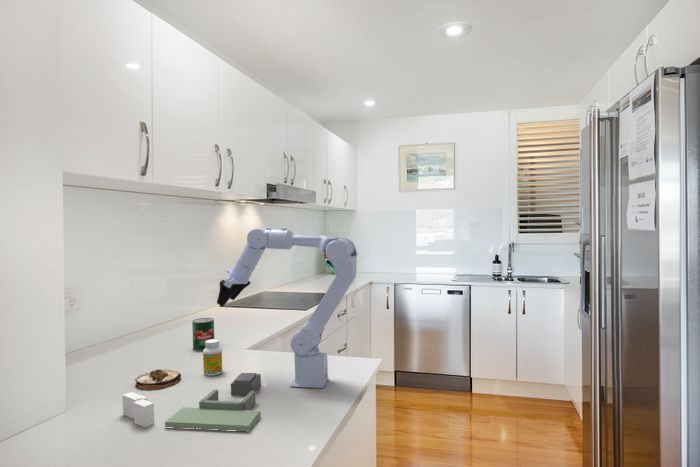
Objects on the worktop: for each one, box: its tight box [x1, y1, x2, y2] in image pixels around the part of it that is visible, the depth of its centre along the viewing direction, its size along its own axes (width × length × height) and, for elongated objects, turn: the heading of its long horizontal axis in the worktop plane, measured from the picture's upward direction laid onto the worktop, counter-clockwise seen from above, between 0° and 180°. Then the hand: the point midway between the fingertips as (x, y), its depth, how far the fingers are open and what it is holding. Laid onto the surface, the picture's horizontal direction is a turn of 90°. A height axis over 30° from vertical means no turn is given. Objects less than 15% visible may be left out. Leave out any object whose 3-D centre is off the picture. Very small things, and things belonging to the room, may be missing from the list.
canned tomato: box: [191, 317, 215, 353], centre depth 168 cm, size 8×8×11 cm
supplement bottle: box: [202, 338, 223, 377], centre depth 140 cm, size 6×6×10 cm
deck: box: [164, 389, 261, 433], centre depth 109 cm, size 20×16×3 cm
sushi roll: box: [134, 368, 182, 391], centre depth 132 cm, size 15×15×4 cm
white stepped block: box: [122, 391, 155, 427], centre depth 107 cm, size 15×11×6 cm
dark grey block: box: [230, 372, 262, 397], centre depth 124 cm, size 6×8×4 cm
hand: (225, 301), depth 135 cm, fingers open, 7 cm apart
